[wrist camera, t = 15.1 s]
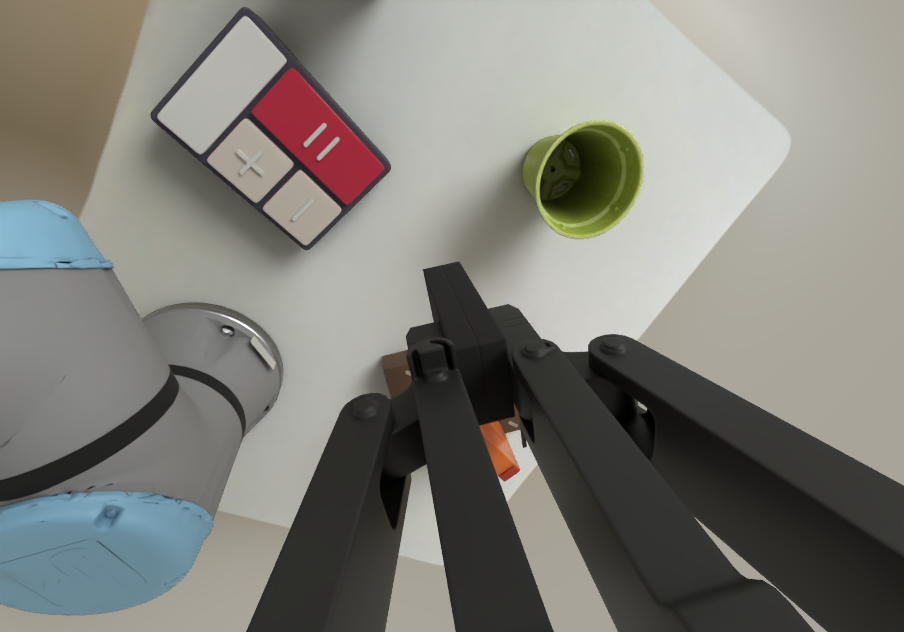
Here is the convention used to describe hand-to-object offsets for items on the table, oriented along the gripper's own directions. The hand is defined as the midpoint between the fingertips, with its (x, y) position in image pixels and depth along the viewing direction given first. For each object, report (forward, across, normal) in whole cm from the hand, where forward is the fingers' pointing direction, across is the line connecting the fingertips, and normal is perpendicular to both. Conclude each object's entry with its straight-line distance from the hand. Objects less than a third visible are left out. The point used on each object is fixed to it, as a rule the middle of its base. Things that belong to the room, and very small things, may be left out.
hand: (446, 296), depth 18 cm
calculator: (+27, -9, +6) cm, 29 cm away
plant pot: (+27, +15, -1) cm, 31 cm away
